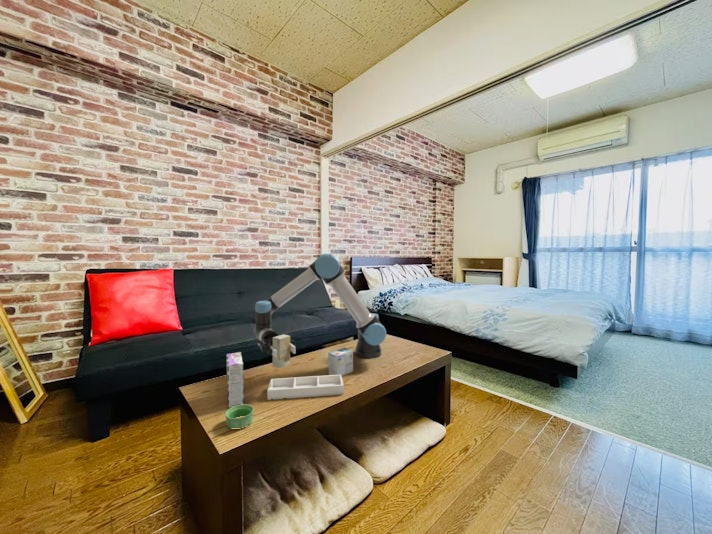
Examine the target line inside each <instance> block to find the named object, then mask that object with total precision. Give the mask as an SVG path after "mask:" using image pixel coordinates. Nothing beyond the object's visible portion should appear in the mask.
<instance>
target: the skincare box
mask: <svg viewBox="0 0 712 534" xmlns="http://www.w3.org/2000/svg"><path fill="white" fill-rule="evenodd" d="M278 335H279V334H278ZM290 339H291V335H288V334H280V335H279V336H276V337H273V348H275V349H276V350H277V357H276V358H275V357H274V356H273V355H272V367H274V368H277V369H281V368H283V367H286V366H289V365H291V351H290Z"/></svg>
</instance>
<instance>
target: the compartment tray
mask: <svg viewBox="0 0 712 534" xmlns="http://www.w3.org/2000/svg"><path fill="white" fill-rule="evenodd" d="M342 377H343V376H341V375H330V374H328V375H327V374H326V375H312V376H311V375H310V376H309V375H308V376H297V377H295V376H293V377H281V378H280V377H279V378H271V379H270V382H269V384H268V387H267V391H266V392H267V393H266V396H267V401H270V400H271V399H273V400H283V398H287V399H297V398H299V399H300V398H312V397H313V398H315V397H326V396H340V395H341V396H342V395H344V391H345V389H344V388H345V387H344V381H343V378H342ZM271 401H272V400H271Z"/></svg>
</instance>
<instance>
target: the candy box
mask: <svg viewBox="0 0 712 534" xmlns="http://www.w3.org/2000/svg"><path fill="white" fill-rule="evenodd" d="M226 380H227V383H226V385H227V408H228V407H229V408H232V407H231V406H236V405H242V404H245V402H244V400H245V399H244V397H245V396H244V395H245V394H244V390H245V389H244V388H245V387H244V362H243V356H242V352H241V351H238V352H232V353H227V354H226Z"/></svg>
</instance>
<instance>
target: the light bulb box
mask: <svg viewBox="0 0 712 534" xmlns="http://www.w3.org/2000/svg"><path fill="white" fill-rule="evenodd" d="M327 358H328V375H341V376H342V377H343V376H345V375H348V374H350V373H352V372H354V350H353V349H350V348H347V347H341V348H337V349H336V350H332V351H329V352H328V357H327Z"/></svg>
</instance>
